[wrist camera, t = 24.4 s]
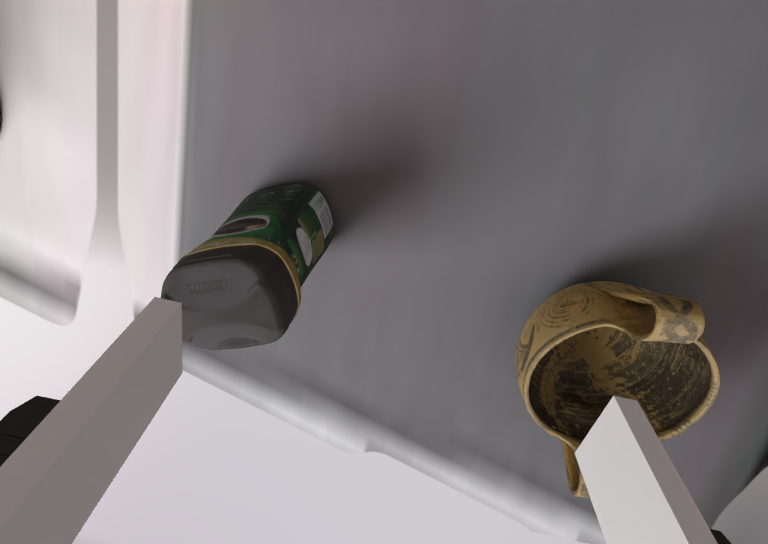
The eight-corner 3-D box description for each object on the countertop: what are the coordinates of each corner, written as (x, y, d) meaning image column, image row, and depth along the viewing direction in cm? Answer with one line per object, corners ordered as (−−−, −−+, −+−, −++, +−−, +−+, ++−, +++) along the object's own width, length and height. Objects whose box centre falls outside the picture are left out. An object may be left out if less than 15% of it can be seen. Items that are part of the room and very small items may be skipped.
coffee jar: (261, 258, 50) (177, 368, 34) (236, 191, 47) (129, 278, 31) (344, 246, 49) (297, 356, 32) (324, 175, 45) (261, 258, 29)
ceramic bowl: (531, 219, 45) (570, 299, 32) (706, 240, 44) (819, 330, 31) (488, 386, 56) (503, 497, 43) (628, 405, 55) (687, 524, 42)
